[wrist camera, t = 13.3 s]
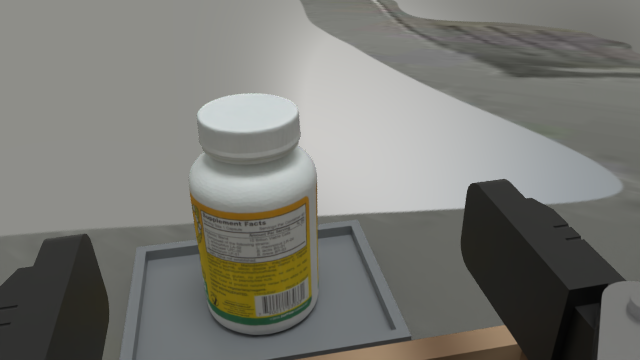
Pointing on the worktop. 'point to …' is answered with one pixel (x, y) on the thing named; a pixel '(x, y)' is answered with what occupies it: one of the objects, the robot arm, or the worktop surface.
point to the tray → (270, 349)
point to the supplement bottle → (255, 213)
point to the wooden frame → (442, 348)
